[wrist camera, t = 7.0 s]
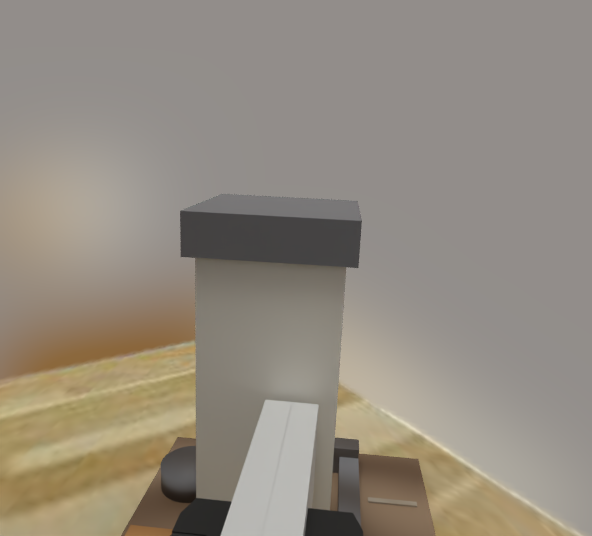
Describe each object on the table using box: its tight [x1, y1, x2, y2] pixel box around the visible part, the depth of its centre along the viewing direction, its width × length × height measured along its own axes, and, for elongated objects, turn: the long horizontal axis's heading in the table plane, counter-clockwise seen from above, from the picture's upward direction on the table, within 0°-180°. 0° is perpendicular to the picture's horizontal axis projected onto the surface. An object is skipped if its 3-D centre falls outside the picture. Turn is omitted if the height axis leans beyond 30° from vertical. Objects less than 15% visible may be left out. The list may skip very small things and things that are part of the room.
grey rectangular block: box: [180, 194, 362, 510], centre depth 17 cm, size 5×5×15 cm
